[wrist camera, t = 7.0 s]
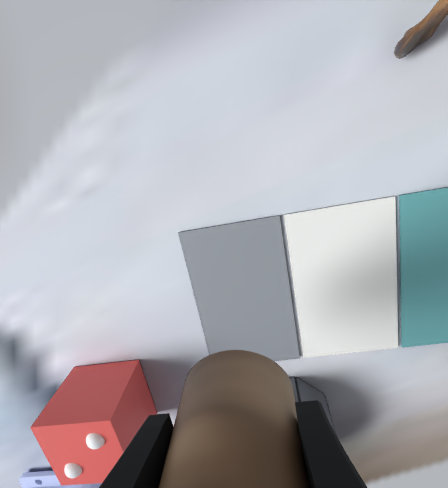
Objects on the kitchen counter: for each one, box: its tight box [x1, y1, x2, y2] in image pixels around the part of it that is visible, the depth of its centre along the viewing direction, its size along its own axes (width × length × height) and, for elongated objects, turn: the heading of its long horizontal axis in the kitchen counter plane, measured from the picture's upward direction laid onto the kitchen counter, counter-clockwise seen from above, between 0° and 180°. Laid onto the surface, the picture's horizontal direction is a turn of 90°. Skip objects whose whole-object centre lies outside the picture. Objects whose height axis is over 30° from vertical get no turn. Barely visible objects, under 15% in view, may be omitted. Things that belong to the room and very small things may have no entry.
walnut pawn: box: [159, 350, 310, 488], centre depth 8 cm, size 4×4×5 cm
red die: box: [30, 360, 157, 485], centre depth 17 cm, size 4×4×4 cm
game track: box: [178, 187, 448, 361], centre depth 16 cm, size 15×8×1 cm, turn 101°
